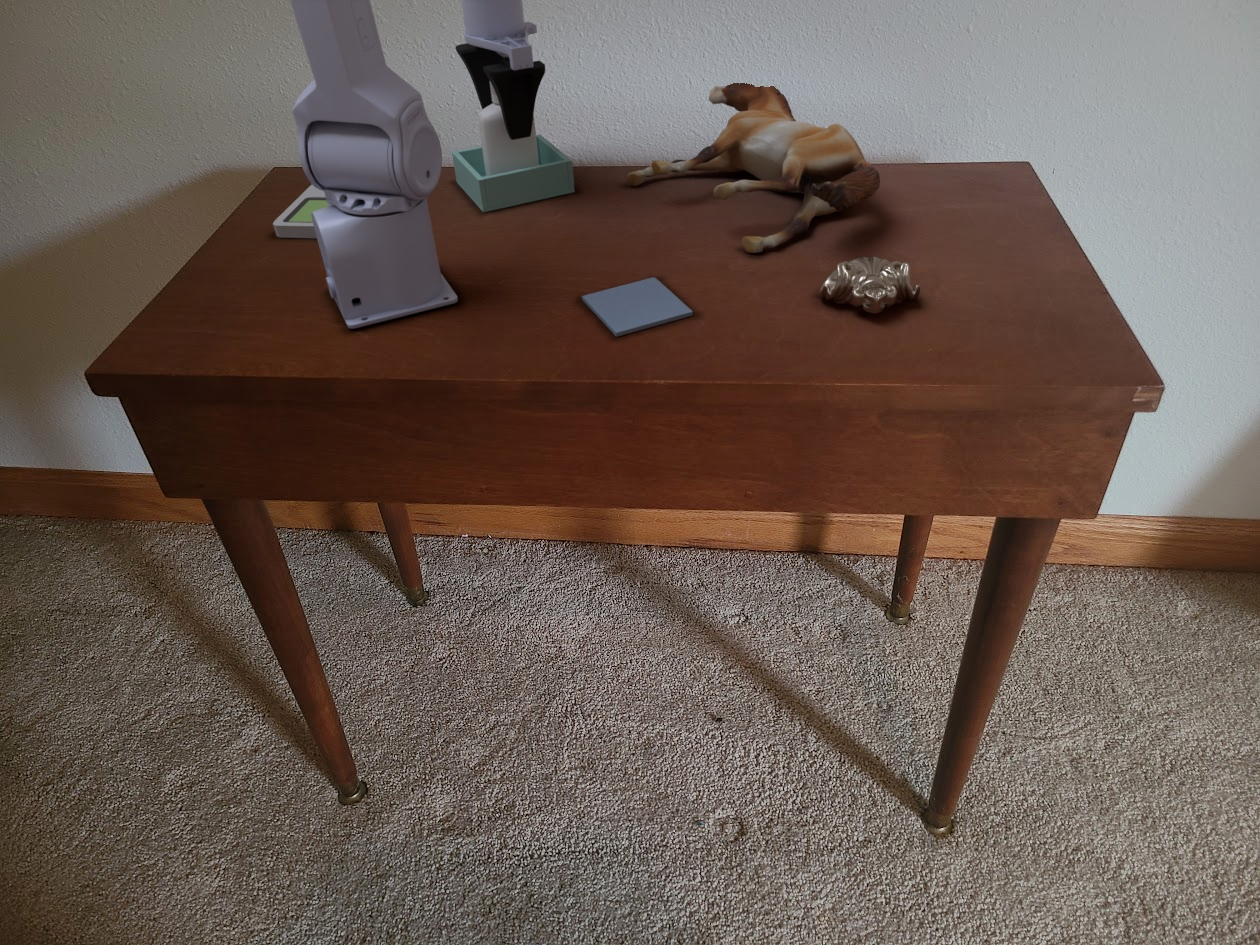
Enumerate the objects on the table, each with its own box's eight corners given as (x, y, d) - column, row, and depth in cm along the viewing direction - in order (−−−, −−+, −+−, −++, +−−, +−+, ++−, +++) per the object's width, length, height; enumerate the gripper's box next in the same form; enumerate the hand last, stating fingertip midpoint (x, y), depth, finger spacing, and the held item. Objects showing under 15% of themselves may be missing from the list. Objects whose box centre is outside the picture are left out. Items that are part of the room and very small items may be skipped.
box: (483, 212, 92) (478, 180, 90) (456, 182, 99) (451, 151, 97) (574, 192, 96) (572, 160, 93) (543, 164, 102) (540, 134, 100)
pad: (616, 337, 73) (616, 332, 72) (581, 299, 78) (581, 295, 77) (692, 315, 75) (692, 311, 74) (654, 280, 80) (654, 276, 79)
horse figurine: (598, 120, 95) (752, 63, 102) (609, 190, 100) (755, 131, 107) (793, 205, 74) (971, 125, 81) (795, 288, 79) (962, 207, 86)
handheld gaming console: (414, 165, 99) (366, 224, 87) (417, 180, 100) (369, 239, 88) (327, 165, 100) (269, 222, 89) (331, 178, 101) (273, 237, 90)
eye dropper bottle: (493, 175, 99) (477, 59, 91) (543, 175, 98) (531, 58, 91) (484, 191, 96) (466, 72, 88) (536, 191, 95) (523, 71, 87)
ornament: (822, 325, 73) (827, 284, 70) (815, 284, 78) (819, 245, 76) (924, 325, 72) (932, 284, 70) (910, 284, 77) (917, 244, 75)
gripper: (557, -13, 81) (570, 140, 89) (503, -40, 91) (519, 100, 100) (482, -2, 78) (502, 153, 87) (435, -31, 89) (458, 111, 97)
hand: (507, 126), depth 93 cm, fingers open, 7 cm apart
